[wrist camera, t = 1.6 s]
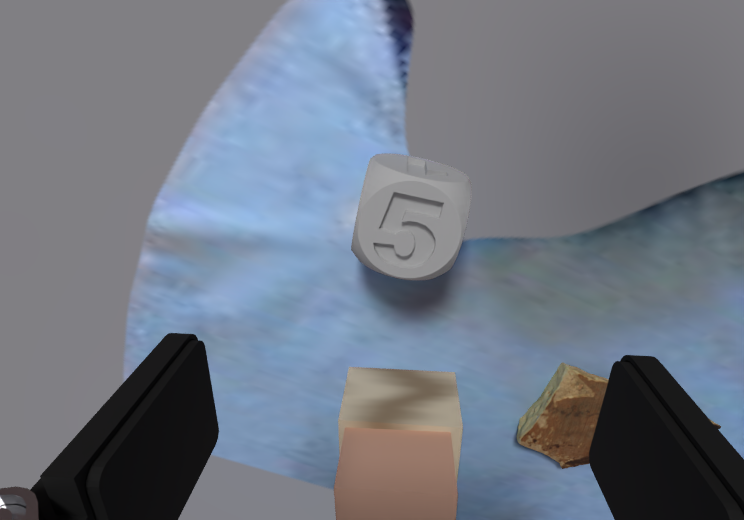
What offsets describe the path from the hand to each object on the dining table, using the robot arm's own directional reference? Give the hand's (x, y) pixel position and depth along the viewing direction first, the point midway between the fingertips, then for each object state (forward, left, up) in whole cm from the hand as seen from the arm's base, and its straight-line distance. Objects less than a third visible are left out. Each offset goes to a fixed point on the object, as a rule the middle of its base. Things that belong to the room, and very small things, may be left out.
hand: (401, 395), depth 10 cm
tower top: (0, +15, -11) cm, 19 cm away
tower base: (0, +15, -16) cm, 22 cm away
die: (0, 0, -16) cm, 16 cm away
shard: (-13, +13, -17) cm, 25 cm away
